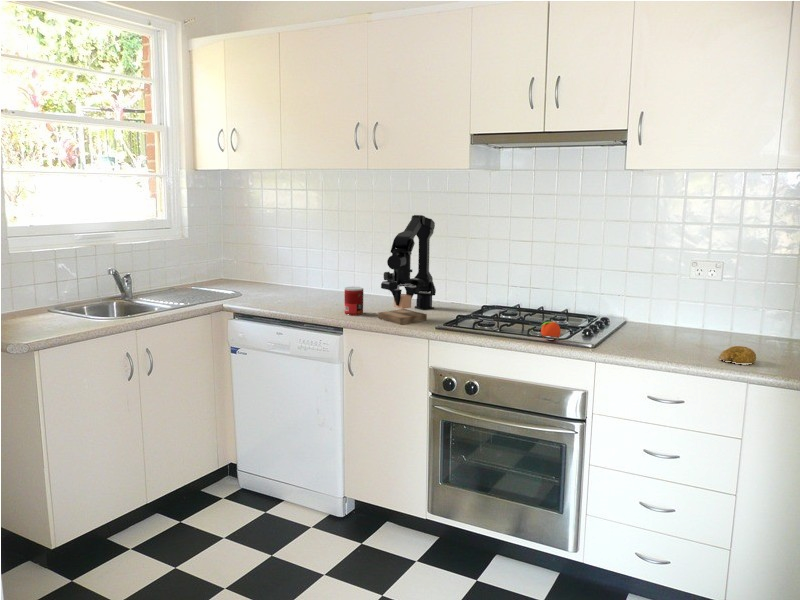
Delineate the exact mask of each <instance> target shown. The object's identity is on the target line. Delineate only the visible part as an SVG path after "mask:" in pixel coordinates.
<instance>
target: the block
mask: <svg viewBox="0 0 800 600" xmlns="http://www.w3.org/2000/svg"><path fill="white" fill-rule="evenodd" d="M393 308H396V309H399V310H400V309H411V308H412V299H411V295H407V294H406V293H401V297H400V303H399V306H397V305H396V303H395V300H394V299H393Z"/></svg>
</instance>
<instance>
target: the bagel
mask: <svg viewBox="0 0 800 600" xmlns="http://www.w3.org/2000/svg"><path fill="white" fill-rule="evenodd" d="M719 359H721V360H724V361H731V362H736V363H753V364H755V362H756V360H757V355H756V352H755V351H754V350H752V348H749V347H747V346H743V345H742V346H741V345H736V346H730V347H728V348H727V349H724V350H723V351H722V352H721V353H720V354H719V356H718V360H719Z"/></svg>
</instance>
